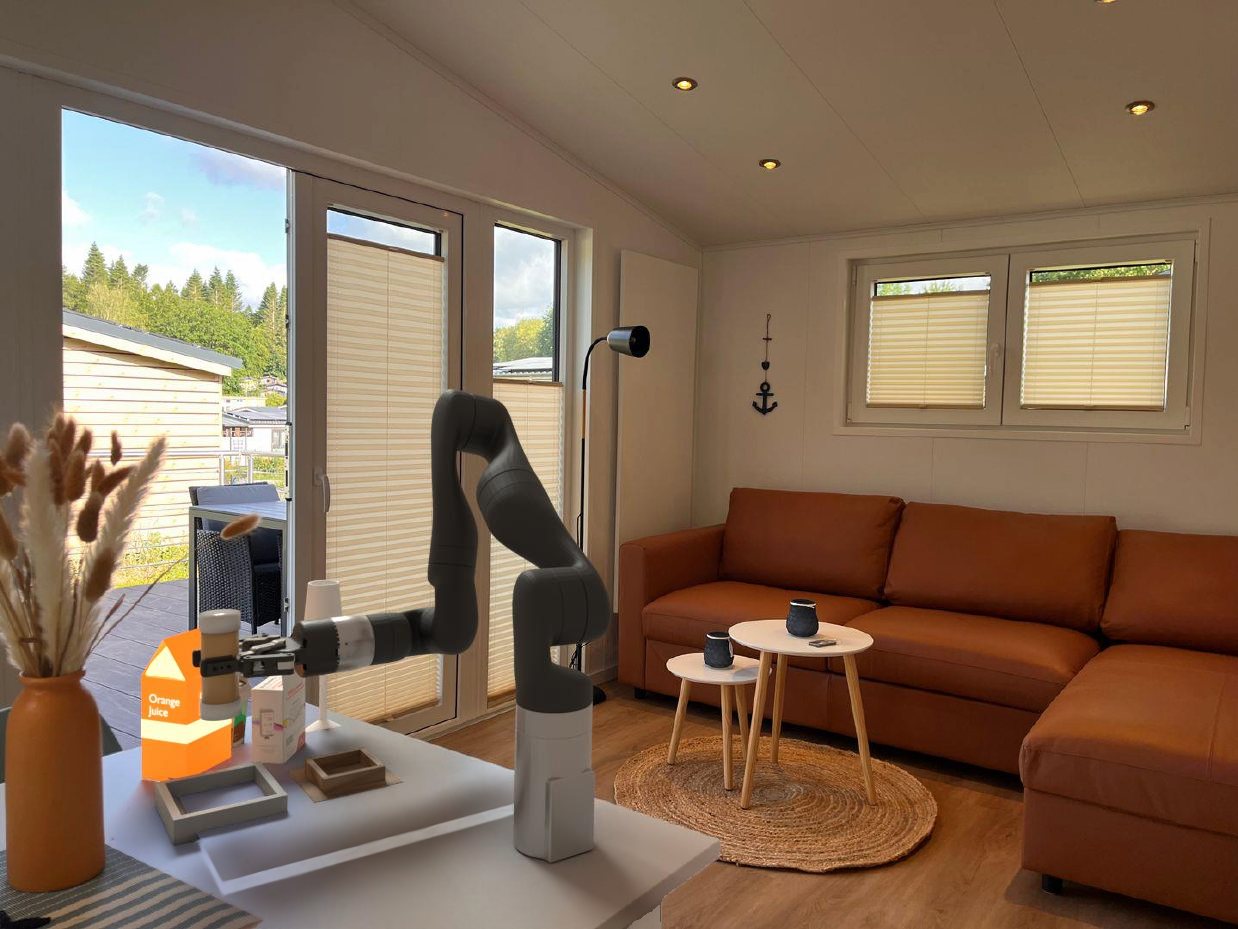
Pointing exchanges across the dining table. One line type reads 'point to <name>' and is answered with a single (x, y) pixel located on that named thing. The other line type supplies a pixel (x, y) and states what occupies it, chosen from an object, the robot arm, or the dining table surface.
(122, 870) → the dining table surface
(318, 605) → the champagne flute
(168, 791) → the grey parts tray
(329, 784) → the walnut block
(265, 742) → the ink cartridge box
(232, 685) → the cartridge fuse
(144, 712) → the orange juice
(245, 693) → the food container
